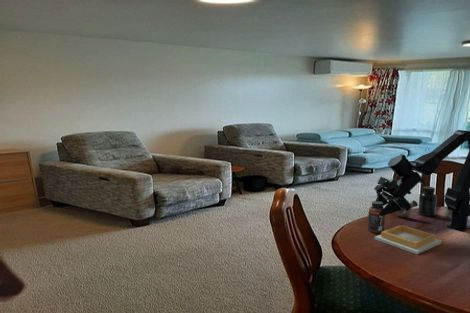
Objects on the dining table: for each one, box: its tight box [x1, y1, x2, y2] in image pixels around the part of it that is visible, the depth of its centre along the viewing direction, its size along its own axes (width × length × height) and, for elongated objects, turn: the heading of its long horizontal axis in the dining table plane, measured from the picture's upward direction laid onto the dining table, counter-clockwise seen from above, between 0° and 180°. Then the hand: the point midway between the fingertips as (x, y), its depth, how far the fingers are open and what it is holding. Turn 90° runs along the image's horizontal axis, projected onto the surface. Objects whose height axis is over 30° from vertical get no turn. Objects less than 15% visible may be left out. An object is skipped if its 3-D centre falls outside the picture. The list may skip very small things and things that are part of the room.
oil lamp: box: [394, 200, 419, 218], centre depth 163 cm, size 9×4×8 cm, turn 60°
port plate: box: [374, 224, 442, 255], centre depth 137 cm, size 16×16×3 cm
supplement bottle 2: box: [417, 186, 438, 217], centre depth 167 cm, size 7×7×12 cm
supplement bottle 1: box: [367, 200, 386, 234], centre depth 147 cm, size 6×6×11 cm
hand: (375, 213), depth 147 cm, fingers open, 6 cm apart
